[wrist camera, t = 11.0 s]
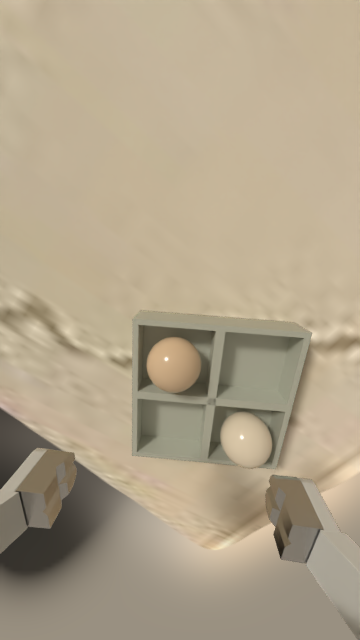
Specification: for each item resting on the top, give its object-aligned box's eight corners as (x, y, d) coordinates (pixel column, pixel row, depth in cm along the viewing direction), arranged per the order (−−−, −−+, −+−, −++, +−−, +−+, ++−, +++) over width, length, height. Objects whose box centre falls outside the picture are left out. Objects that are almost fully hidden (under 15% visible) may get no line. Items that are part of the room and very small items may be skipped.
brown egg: (202, 331, 20) (205, 353, 15) (198, 375, 21) (199, 408, 16) (153, 327, 20) (140, 347, 15) (151, 371, 21) (140, 402, 17)
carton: (294, 322, 20) (312, 332, 17) (265, 444, 24) (275, 469, 21) (140, 310, 20) (132, 318, 17) (138, 432, 24) (132, 455, 22)
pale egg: (265, 403, 22) (286, 442, 17) (257, 439, 23) (275, 484, 18) (220, 399, 22) (228, 436, 17) (214, 435, 23) (221, 479, 18)
